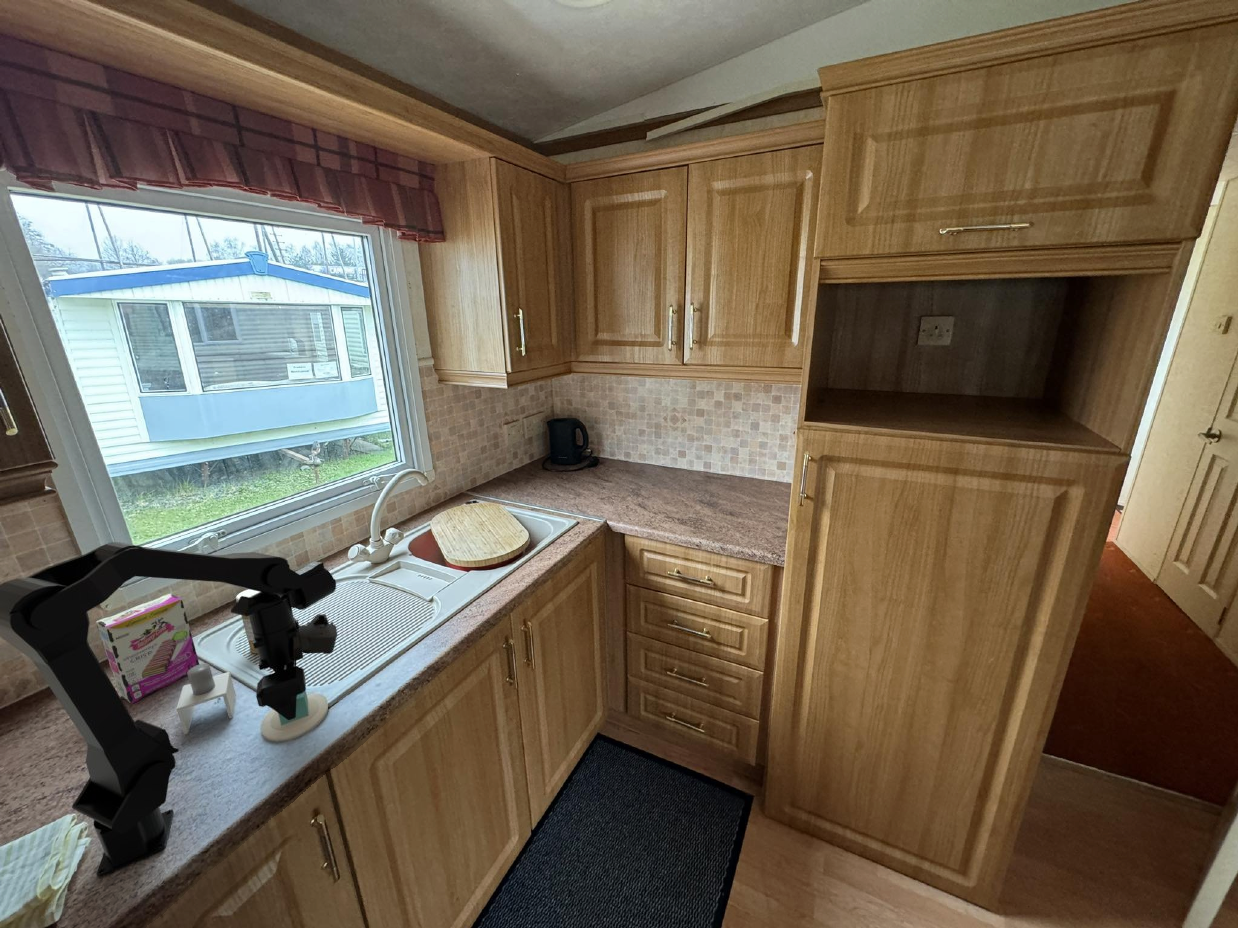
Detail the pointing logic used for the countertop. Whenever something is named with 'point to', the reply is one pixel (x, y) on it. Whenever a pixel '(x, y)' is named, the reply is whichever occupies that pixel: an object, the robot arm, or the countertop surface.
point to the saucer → (296, 728)
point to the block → (298, 709)
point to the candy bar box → (148, 646)
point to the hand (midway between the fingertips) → (292, 702)
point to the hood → (204, 692)
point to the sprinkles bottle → (248, 620)
